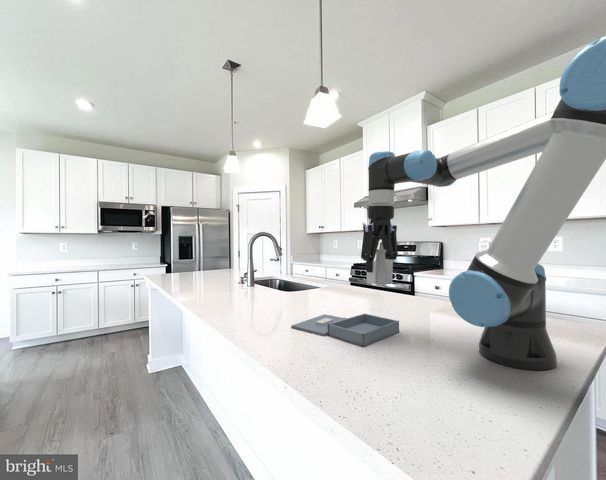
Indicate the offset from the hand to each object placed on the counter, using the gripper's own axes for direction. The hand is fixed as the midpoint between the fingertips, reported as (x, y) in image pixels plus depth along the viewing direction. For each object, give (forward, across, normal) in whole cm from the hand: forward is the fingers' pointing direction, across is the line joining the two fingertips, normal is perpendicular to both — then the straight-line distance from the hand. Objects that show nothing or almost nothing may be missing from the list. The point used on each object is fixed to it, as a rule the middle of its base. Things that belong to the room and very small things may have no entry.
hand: (379, 281), depth 89 cm
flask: (0, 0, 0) cm, 1 cm away
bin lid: (+17, +5, -19) cm, 26 cm away
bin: (+16, +3, -4) cm, 17 cm away
